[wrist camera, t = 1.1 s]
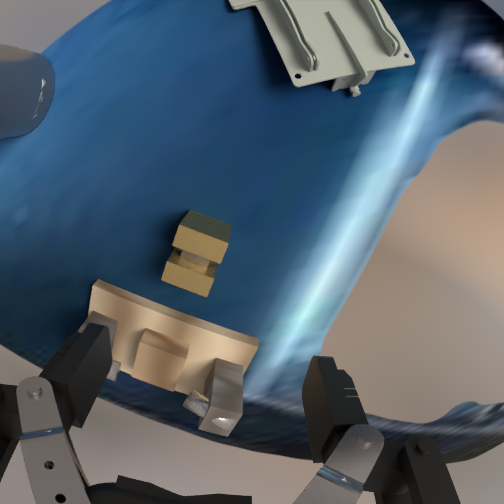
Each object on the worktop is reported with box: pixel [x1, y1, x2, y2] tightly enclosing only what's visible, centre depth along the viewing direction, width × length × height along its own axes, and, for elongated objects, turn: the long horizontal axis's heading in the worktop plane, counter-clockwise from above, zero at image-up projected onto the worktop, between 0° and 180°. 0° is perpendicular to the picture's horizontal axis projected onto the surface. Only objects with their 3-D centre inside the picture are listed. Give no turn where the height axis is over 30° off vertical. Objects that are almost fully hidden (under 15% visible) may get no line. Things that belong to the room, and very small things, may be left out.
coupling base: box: [77, 279, 258, 437], centre depth 30 cm, size 18×10×8 cm, turn 67°
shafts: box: [106, 359, 236, 432], centre depth 27 cm, size 17×2×4 cm, turn 67°
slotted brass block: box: [161, 209, 232, 297], centre depth 27 cm, size 5×4×5 cm
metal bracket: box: [229, 0, 415, 96], centre depth 22 cm, size 14×6×15 cm
